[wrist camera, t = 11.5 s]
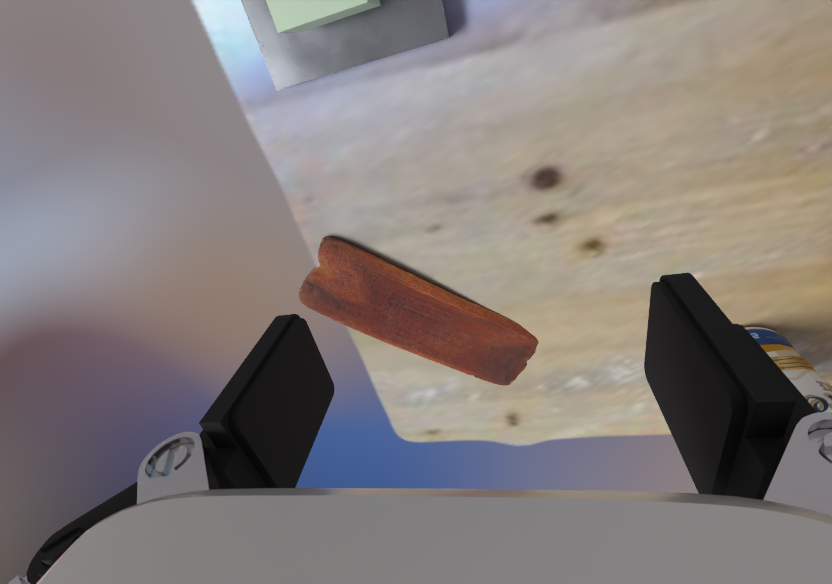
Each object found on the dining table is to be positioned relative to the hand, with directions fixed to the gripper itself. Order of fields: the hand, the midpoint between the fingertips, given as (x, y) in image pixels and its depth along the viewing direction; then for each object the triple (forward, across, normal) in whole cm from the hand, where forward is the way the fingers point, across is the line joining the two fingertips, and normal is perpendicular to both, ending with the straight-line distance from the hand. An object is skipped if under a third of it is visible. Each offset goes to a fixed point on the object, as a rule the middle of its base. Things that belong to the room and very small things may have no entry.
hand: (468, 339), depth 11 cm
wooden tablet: (+28, +9, +18) cm, 34 cm away
